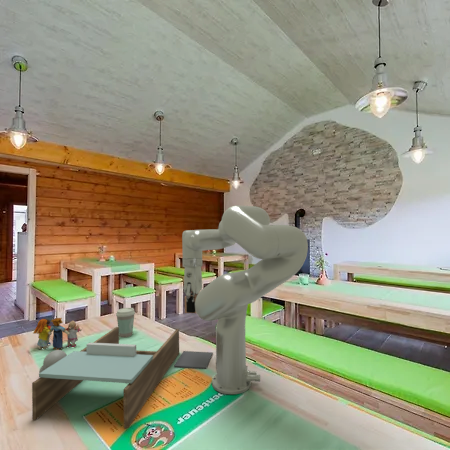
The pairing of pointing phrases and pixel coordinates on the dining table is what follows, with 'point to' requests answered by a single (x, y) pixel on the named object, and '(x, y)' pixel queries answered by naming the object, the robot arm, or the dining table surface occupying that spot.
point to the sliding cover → (100, 364)
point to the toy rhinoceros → (52, 359)
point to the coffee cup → (125, 321)
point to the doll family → (56, 333)
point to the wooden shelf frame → (133, 393)
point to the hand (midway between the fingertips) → (193, 309)
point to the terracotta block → (186, 303)
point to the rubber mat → (194, 360)
